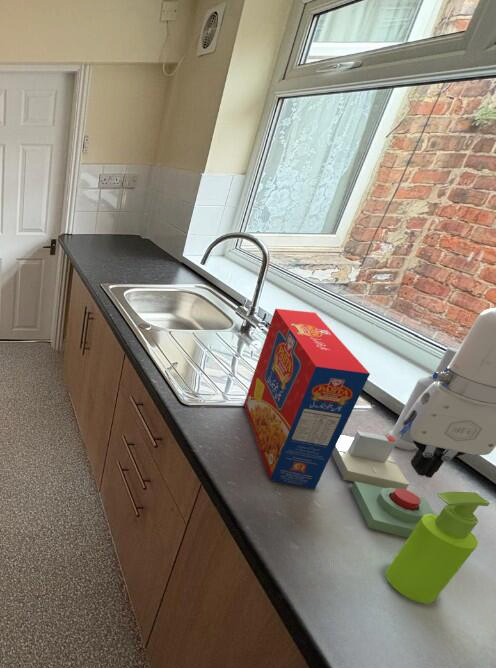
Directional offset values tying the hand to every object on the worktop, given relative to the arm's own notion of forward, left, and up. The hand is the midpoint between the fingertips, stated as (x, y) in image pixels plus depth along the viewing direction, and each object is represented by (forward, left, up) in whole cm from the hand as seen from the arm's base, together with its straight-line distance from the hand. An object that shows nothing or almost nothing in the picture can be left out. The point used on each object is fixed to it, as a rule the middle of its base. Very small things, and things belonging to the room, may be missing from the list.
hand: (420, 471), depth 74 cm
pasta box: (+17, -16, -12) cm, 26 cm away
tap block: (+1, -14, -12) cm, 18 cm away
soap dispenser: (+4, +16, -12) cm, 20 cm away
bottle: (-10, -26, -12) cm, 30 cm away
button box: (0, 0, -12) cm, 12 cm away
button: (0, 0, -8) cm, 8 cm away
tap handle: (+1, -14, -9) cm, 17 cm away
